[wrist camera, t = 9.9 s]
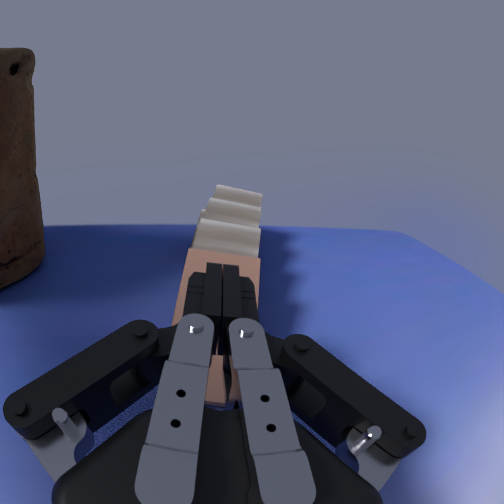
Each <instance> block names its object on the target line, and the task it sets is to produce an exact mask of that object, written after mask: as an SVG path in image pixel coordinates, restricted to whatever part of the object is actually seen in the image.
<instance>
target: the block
mask: <svg viewBox="0 0 504 504" xmlns="http://www.w3.org/2000/svg"><path fill="white" fill-rule="evenodd" d="M34 67H35V55H34V53H33V51H32V50H30V49H27V48H0V289H1V288H3V287H5V286H7V285H9V284H11V283H13V282H16V281H18V280H20V279H22V278H24V277H25V276H27V275H28V274H29V273H31V272H32V271H33V270H34V269H35V268H37V267H38V266H39V265H40V263H41V262H42V261H43V258H44V256H45V244H44V229H43V220H42V211H41V201H40V193H39V186H38V179H37V177H36V146H35V129H34V89H33V85H32V75H33V72H34Z"/></svg>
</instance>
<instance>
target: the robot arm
mask: <svg viewBox="0 0 504 504" xmlns="http://www.w3.org/2000/svg"><path fill="white" fill-rule="evenodd" d="M217 342H218V343H217ZM216 350H217V355H220V356H223V365H222V380H223V390H224V399H225V411H218V410H214V409H211V408H208V407H205V399H206V391H207V383H208V375H209V368H210V367H211V363H212V355H216ZM158 384H159V386H158V390H157V394H156V399H155V403H154V407H153V409H150V410H147V411H144V412H142V413H140V414H138V415H137V416H135V417H134V418H133V419H131V420H130V421H129V422H128V423H126V424H125V425H124V426H123V427H122V428H120V429H119V430H118V431H117V432H116V433H114V434H113V435H112V436H111V437H109V438H108V439H107V440H106V441H105V442H103V443H102V444H101V445H100V446H98V447H97V448H96V449H95V450H93V451H92V452H91V453H89V454H88V455H87V456H86V454H87V453H88V452H89V451H90V450H91V449H92V447H93V445H94V435H93V433H94V432H95V431H97V430H98V429H99V428H101V427H102V426H104V425H105V424H106V423H108V422H109V421H110V420H112V419H113V418H114V417H116V416H117V415H119V414H120V413H121V412H123V411H124V410H125V409H127V408H128V407H129V406H131V405H132V404H133V403H135V402H136V401H137V400H138V399H140V398H141V397H142V396H144V395H145V394H146V393H148V392H149V391H150V390H152V389H153V388H154V387H155V386H157V385H158ZM291 411H292V412H293V413H295V414H296V415H297V416H298V417H299V418H300V419H301V420H302V421H304V422H305V423H306V424H307V425H308V426H309V427H311V428H312V429H313V430H314V431H315V432H317V433H318V434H319V435H320V436H321V437H322V438H324V439H325V440H326V441H327V442H329V443H330V444H331V445H332V446H333V447H335V448H336V451H335V453H336V455H335V454H334V453H333V452H332V451H331V450H329V449H328V448H327V447H326V446H325V445H324V444H323V443H321V442H320V441H319V440H318V439H317V438H316V437H315V436H314V435H313V434H311V433H310V432H309V431H308V430H307V429H306V428H305V427H304V426H303V425H301V424H300V423H298V422H297V421H295V420H293V417H292V414H291ZM3 413H4V417H5V419H6V420H7V422H8V423H9V424H10V425H11V426H12V427H13V428H14V429H15V430H16V432H17V433H18V435H19V436H20V437H21V438H22V439H23V440H24V441H25V442H27V443H28V444H29V446H30V447H31V449H32V451H33V452H34V454H35V455H36V457H37V458H38V460H39V461H40V462H41V464H42V465H43V467H44V468H45V470H46V471H47V472H48V474H49V475H50V476H51V478H52V479H53V480H54V482H55V485H54V487H53V490H52V504H383V501H382V498H381V495H380V494H379V491H380V489H381V488H382V487H383V485H384V484H385V483H386V481H387V480H388V479H389V477H390V476H391V474H392V473H393V472H394V470H395V469H396V467H397V466H398V464H399V463H400V461H401V460H402V459H403V458H405V457H406V456H408V455H409V454H410V453H412V452H413V451H414V450H416V449H417V448H418V447H420V446H421V445H422V444H423V443H424V441H425V439H426V430H425V427H424V425H423V424H422V423H421V421H419V420H418V419H417V418H415V417H414V416H413V415H411V414H410V413H409V412H407V411H406V410H404V409H403V408H402V407H400V406H399V405H398V404H396V403H395V402H394V401H392V400H391V399H390V398H388V397H387V396H385V395H384V394H383V393H381V392H380V391H379V390H377V389H376V388H375V387H373V386H372V385H371V384H369V383H368V382H367V381H366V380H364V379H363V378H362V377H360V376H359V375H358V374H356V373H355V372H354V371H352V370H351V369H350V368H348V367H347V366H346V365H345V364H343V363H342V362H341V361H339V360H338V359H337V358H335V357H334V356H333V355H332V354H330V353H329V352H328V351H326V350H325V349H324V348H323V347H321V346H320V345H319V344H318V343H316V342H315V341H314V340H312V339H311V338H310V337H308V336H305V335H302V334H293V335H290V336H288V337H287V338H286V339H285V340H283V339H280V338H276V337H273V336H271V335H269V334H267V333H266V332H265V331H264V329H263V327H262V326H261V325H260V324H259V318H258V310H257V302H256V294H255V286H254V283H253V282H252V281H251V279H250V278H249V277H243V276H240V275H239V265H230V264H223V268H222V264H220V263H211V262H207V265H206V273H203V272H194V273H193V274H192V275H191V276H190V277H189V279H188V285H187V291H186V297H185V303H184V309H183V315H182V318H181V319H180V320H179V322H178V323H177V324H175V325H174V326H171V327H167V328H160V329H157V327H156V326H155V325H154V324H153V323H151V322H149V321H146V320H135V321H131V322H129V323H128V324H126V325H124V326H123V327H121V328H119V329H118V330H116V331H114V332H113V333H111V334H109V335H108V336H106V337H104V338H103V339H101V340H100V341H98V342H96V343H95V344H93V345H91V346H90V347H88V348H86V349H85V350H83V351H81V352H80V353H78V354H76V355H75V356H73V357H72V358H70V359H68V360H67V361H65V362H63V363H62V364H60V365H58V366H57V367H55V368H53V369H52V370H50V371H48V372H47V373H45V374H44V375H42V376H40V377H39V378H37V379H35V380H34V381H32V382H30V383H29V384H27V385H26V386H24V387H22V388H21V389H19V390H17V391H16V392H14V393H12V394H11V395H10V396H9V397H8V398H7V399H6V400H5V402H4V406H3ZM85 456H86V457H85Z"/></svg>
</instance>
